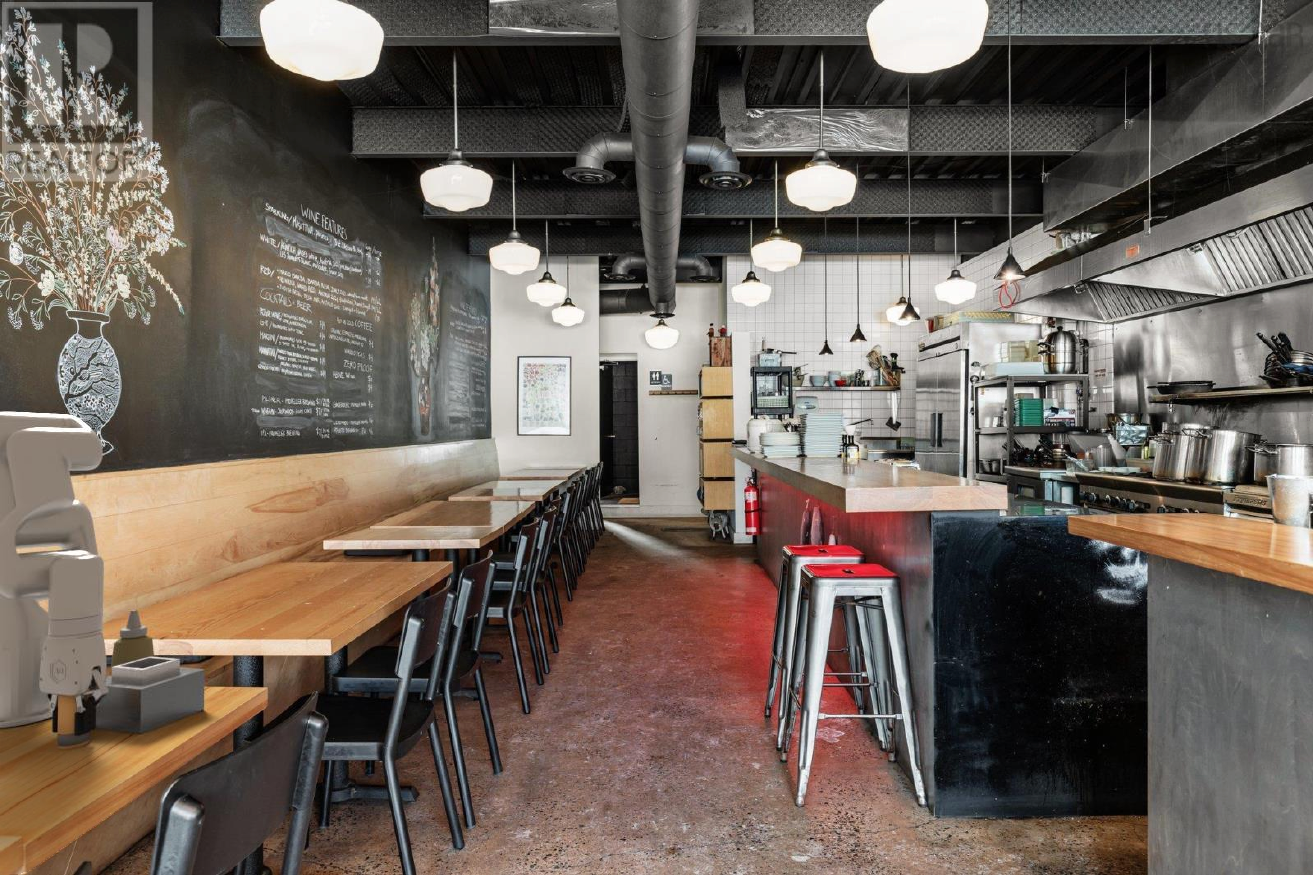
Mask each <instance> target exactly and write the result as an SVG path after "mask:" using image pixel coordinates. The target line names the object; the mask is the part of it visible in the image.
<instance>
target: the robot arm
mask: <svg viewBox="0 0 1313 875" xmlns="http://www.w3.org/2000/svg"><path fill="white" fill-rule="evenodd" d="M102 460H103V445H102V441H101V439H100V438H99V436H98V435H97V433H96V432H95V430H93V429H92V428H91V427H90V426H89V425H88V424H87V423H85V422H84V421H83V420H81V419H80V418H78V417H77V416H74V415H70V414H59V413H36V412H17V411H0V729H3V728H12V727H19V726H24V725H28V724H34V723H36V722H37V723H38V722H41V721H44V720H47V719H49V718H52V720H51V721H52V723H51V724H52V726H51V731H52V733H55V734H57V732H58V695H63V696H74V697H75V696H76V702H77V708H78V712H76V713H75V724H74V735H75V736H80V735H82V734H85V733H88V732H90V733H91V732H93V731H95V730H96V708H97V707H98V706H99V702H100V701H101V700H102V698H103V697H105V696H106V695H107V694H108V692H109V691H108V688H107V686H106V684H105V683H106V677H107V669H108V668H107V653H106V651H107V650H106V644H105V638H104V633H103V630H104V628H103V627H104V583H105V582H104V581H105V580H104V579H105V578H104V575H105V572H104V571H105V564H104V563H105V561H104V559H103V557H101V556H100V555H99V552H98V546H97V539H96V538H97V537H96V533H95V525H94V520H93V517H92V513H91V511H90V509H89V507H88V506H87V504H86V503H84V502H82V501H81V500H78V499H76V496H75V491H74V487H73V483H72V478H71V474H70V473H71V472H76V471H77V472H79V471H81V472H82V471H92V470H95V469H97V467H99V466H100V464H101V462H102ZM70 471H71V472H70ZM46 547H47V548H48V547H60V548H61V549H59V550H58V549H57V550H42V551H41V550H40V551H30V552H19V553H18V551H17V550H21V549H33V548H35V549H36V548H46ZM47 600H48V604H47V605H48V610H46V609H44V607H42V606H41V604H39V603H40V602H42V601H47ZM87 689H89V691H87ZM86 695H89V696H90V697H88V698H87V700H86V701H85V699H84V696H86Z"/></svg>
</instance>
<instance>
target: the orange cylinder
mask: <svg viewBox="0 0 1313 875" xmlns="http://www.w3.org/2000/svg"><path fill="white" fill-rule="evenodd" d="M87 691H89V689H87ZM88 697H90V696H89V695H86V696H84V699H85V701H86V700H87V698H88ZM76 712H78V708H77V702H76V696H75V697H74V696H63V695H58V732H57V733H56V745H57V748H56V749H59V750H71V749H75V748H80V747H82V746H85V745H87V744H89V743H90V742H91V732H88V733H85V734H82V735H80V736H75V735H74V724H75V713H76Z"/></svg>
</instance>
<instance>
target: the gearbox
mask: <svg viewBox="0 0 1313 875" xmlns="http://www.w3.org/2000/svg"><path fill="white" fill-rule="evenodd" d="M180 662H181V659H180V658H171V657H159V656H154V657H147V658H143V659H139V660H136V661H132V662H129V663H125V664H121V665H118V666H114V667H112V676H110V675H109V676H106V683H105V684H106V686H107V688H108V691H109V692H108V694H107V695H106V696H105V697H103V698H102V700H101V701H100V702H99V706H98V707H97V708H96V729H98V730H105V731H111V732H120V733H127V734H135V735H136V734H137V735H142V734H145V733H147V732H150V731H152V730H156V729H158V728H161V727H164V726H166V725H168V724H171V723H174V722H177V721H179V720H182V719H184V718H187V717H191V716H193V715H195V714H197V712H198V713H200V712H202V711H201V710H203V711H205V676H206V674H205V669H202V668H195V667H183V666H182V667H181V665H180ZM199 711H200V712H199ZM192 714H193V715H192ZM96 729H95V730H96Z"/></svg>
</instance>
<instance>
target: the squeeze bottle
mask: <svg viewBox="0 0 1313 875" xmlns="http://www.w3.org/2000/svg"><path fill="white" fill-rule="evenodd" d="M129 611H130V612H129V614H128V619H127V622H126V626H125V627H122V628H121V629H120V630H119V637H120V638H118V639H117V640H116V641H115V642H113V649H112V656H111V663H110V664H111V665H110V671H109V676H112V667H114V666H118V665H121V664H125V663H129V662H132V661H136V660H139V659H143V658H147V657H155V652H154V651H155V650H154V642H153V638H152V637H151V636H150V635H147V634H148V626H146V625H142V624H141V619H140V615H139V611H138V610H137V609H134V610H133V609H132V610H129Z"/></svg>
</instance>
